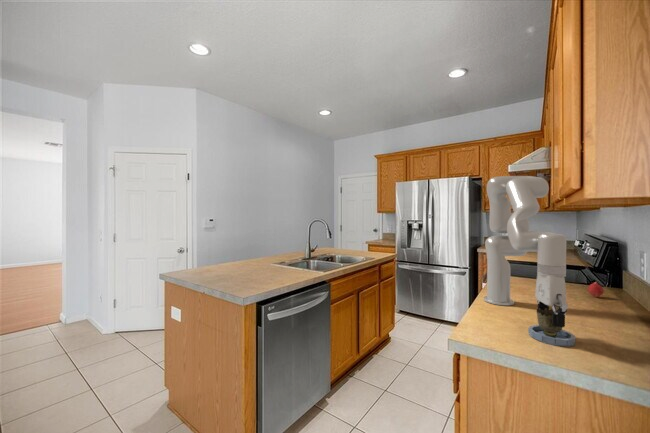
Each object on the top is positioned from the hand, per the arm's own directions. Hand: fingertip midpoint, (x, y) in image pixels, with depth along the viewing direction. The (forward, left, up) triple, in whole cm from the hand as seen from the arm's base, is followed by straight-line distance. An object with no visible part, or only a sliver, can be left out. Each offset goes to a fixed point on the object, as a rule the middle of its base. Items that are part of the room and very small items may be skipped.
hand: (550, 320), depth 95 cm
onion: (-63, +48, -6) cm, 79 cm away
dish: (0, 0, -6) cm, 6 cm away
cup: (0, 0, -5) cm, 5 cm away
